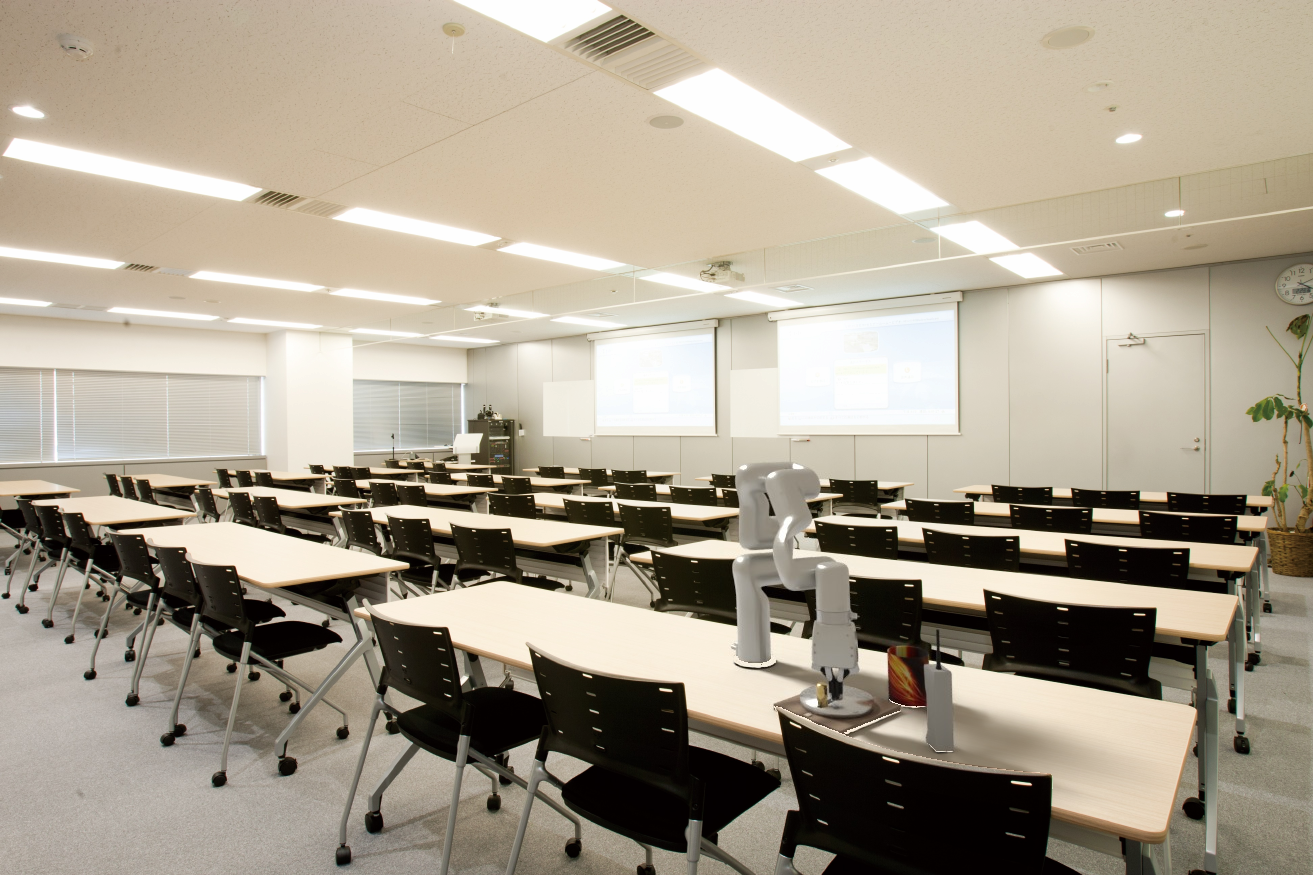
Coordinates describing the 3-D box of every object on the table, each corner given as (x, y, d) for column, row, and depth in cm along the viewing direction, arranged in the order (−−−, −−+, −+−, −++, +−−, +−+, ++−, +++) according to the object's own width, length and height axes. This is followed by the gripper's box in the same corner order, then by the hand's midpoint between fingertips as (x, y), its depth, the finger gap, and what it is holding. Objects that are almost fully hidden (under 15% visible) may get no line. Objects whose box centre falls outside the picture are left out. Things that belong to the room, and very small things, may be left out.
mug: (937, 716, 158) (936, 664, 158) (881, 701, 168) (880, 652, 168) (954, 703, 165) (952, 654, 165) (899, 690, 175) (897, 643, 175)
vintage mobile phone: (943, 742, 145) (939, 624, 145) (954, 752, 140) (950, 631, 140) (925, 742, 145) (922, 625, 145) (936, 753, 140) (932, 631, 140)
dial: (822, 685, 175) (822, 660, 175) (886, 701, 163) (885, 674, 163) (786, 705, 163) (785, 678, 163) (852, 724, 151) (851, 695, 151)
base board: (773, 709, 165) (773, 702, 165) (833, 687, 178) (833, 681, 178) (840, 737, 148) (840, 730, 148) (900, 711, 161) (900, 704, 161)
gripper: (868, 614, 157) (871, 694, 157) (803, 610, 163) (806, 687, 163) (865, 623, 150) (868, 706, 150) (797, 618, 156) (800, 698, 156)
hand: (836, 696), depth 157 cm, fingers closed
